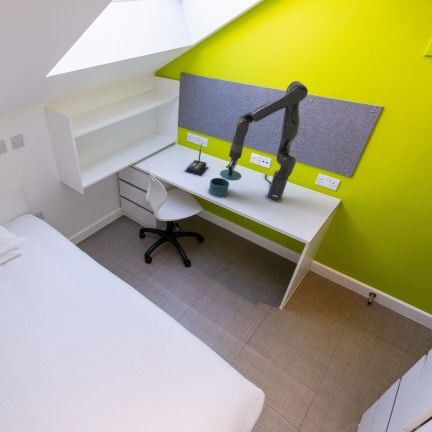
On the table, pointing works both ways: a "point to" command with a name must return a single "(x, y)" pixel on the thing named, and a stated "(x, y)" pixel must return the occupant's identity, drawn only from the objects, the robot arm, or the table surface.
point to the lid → (232, 177)
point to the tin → (218, 187)
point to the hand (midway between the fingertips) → (230, 173)
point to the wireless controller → (197, 166)
